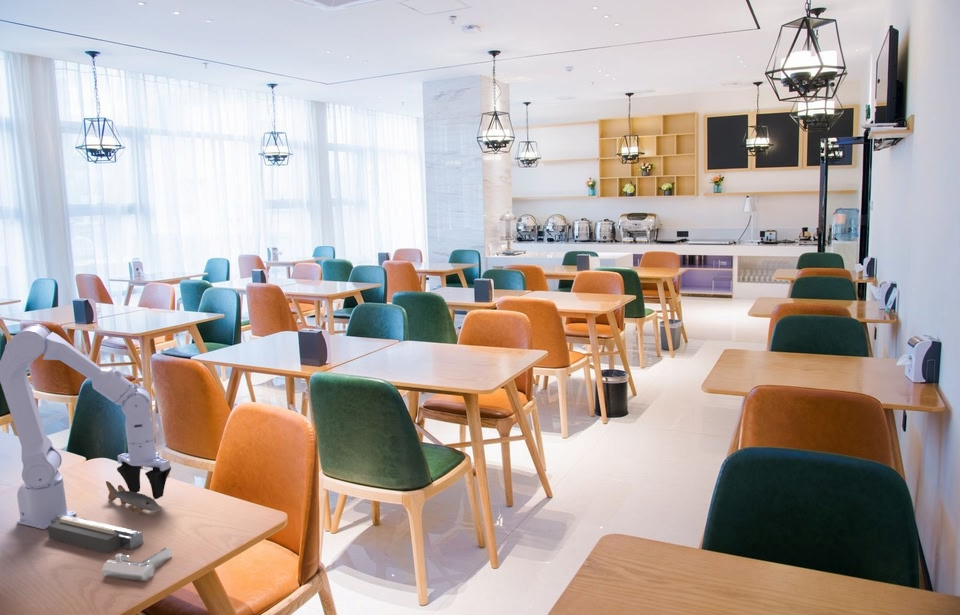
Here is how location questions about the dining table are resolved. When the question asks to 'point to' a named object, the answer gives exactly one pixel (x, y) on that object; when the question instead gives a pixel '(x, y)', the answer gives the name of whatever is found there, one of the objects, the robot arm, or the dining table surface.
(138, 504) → the fish
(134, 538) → the rail
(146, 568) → the silver l-shaped piece
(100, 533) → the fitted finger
